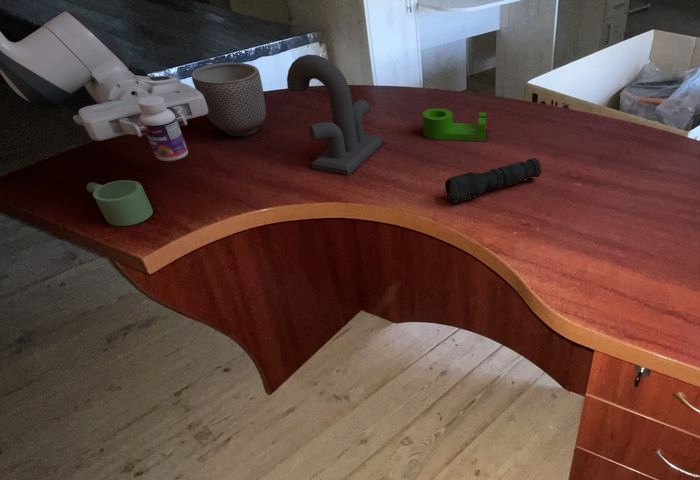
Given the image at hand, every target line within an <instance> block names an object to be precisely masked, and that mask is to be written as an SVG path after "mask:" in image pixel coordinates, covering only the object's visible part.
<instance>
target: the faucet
mask: <svg viewBox="0 0 700 480" xmlns="http://www.w3.org/2000/svg"><path fill="white" fill-rule="evenodd" d="M311 80H317V81H319V82H320V83H322V85H323V86H324V87H325V89H326V90H327V93H328V98H329V104H330V105H329V106H330V109H331V116H332V122H331V121H322V122H317V123H312V124H311V123H310V124H309V125H308V131H309V132H308V133H309V135H310V138H311V140H312V142H321V141H324V140H327V143H328V149H327V150H325V151H324V152H323V153H322V154H320V156H318V157H317V158H316V159H315V160H314V161H312V163H311V169H313V170H317V171H322V172H328V173H333V174H334V173H335V174H338V175H339V174H340V175H345V176H349V175H350V174H351V173H352V172H354V171H355V169H357V168H358V167H359V166H360V165H362V163H363V162H365V160H366V159H367V158H368V157H369V156H371V155H372V154H373V153H374V152H375V151H376V150H377V149H378V148H379V147H380V146H382V145H383V144H384V142H383V141H384V140H383V138H382V137H380V136H378V135H373V134H368V133H367V134H366V133H365V131H364V125H363V118H364V117H365V116H366V115H368V114H369V113H370V110H371V105H370V104H369V101H367V100H366V99H364V98H358V100H356V101H355V102H352V95H351V88H350V85H349V83H348V81H347V78H346V76H344V73H342V70H340V69H339V68H338V66H337V65H335V64H334V63H333V62H332V61H330V60H329V59H328V58H326V57H323V56H320V55H318V54H305V55H301V56H298V57H297V58H296V59H295V60H294V61H292V62H291V64H290V67H289V68H288V71H287V75H286V85H287V89H288V90H289V91H290V92H296V93H297V92H304V91H307V90H308V89H309V88H310V83H311Z"/></svg>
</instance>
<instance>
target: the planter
mask: <svg viewBox="0 0 700 480" xmlns="http://www.w3.org/2000/svg"><path fill="white" fill-rule="evenodd" d="M191 81H192V85H193V86H194V88H195V89H196V90H198V91H199V92H201V93H202V94H203V96H204V98H205V100H206V103H207V106H208V113H207V115H206V116H207V118H208V119H209V121H210V123H211V124H212V125H214V127H216V128H217V129H220V130H221V131H224V132H225V133H226V135H228V136H231V137H247V136H251V135H254V134H255V133H257V132H258V131H259V127H260V126H261V125H262V124H264V122H265V119H266V117H267V108H266V100H265V93H264V88H263V83H262V77H261V74H260V70H259V69H258V67H256V66H254V65H253V64H250V63H245V62H236V61H235V62H232V61H231V62H218V63H217V62H216V63H211V64H207V65H203V66H201V67H198V68H196V69H195V70H193V71H192V73H191Z"/></svg>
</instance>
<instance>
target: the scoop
mask: <svg viewBox="0 0 700 480" xmlns="http://www.w3.org/2000/svg"><path fill="white" fill-rule="evenodd" d="M86 191H88V193H90V194H92V196H93V199H94V201H95V202H96V204H97V206H98V208H99V210H100V211H101V213H102V215H103V217H104V219H105V221H106V222H107V223H108V224H109V225H110V226H116V227H128V226H133V225H137V224H140V223H143V222H144V221H146V220H148V219H150V217H152V215H153V213H154V209H153V207H152V205H151V202H150V200H149V198H148V196H147V194H146V191H145V190H144V187H143V185H142V184H141V182H139V181H136V180H132V179H131V180H129V179H122V180H120V179H119V180H115V181H111V182H108V183H105V184H100V183H96V182H93V181H92V182H89V183H88V184H87V185H86Z"/></svg>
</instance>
